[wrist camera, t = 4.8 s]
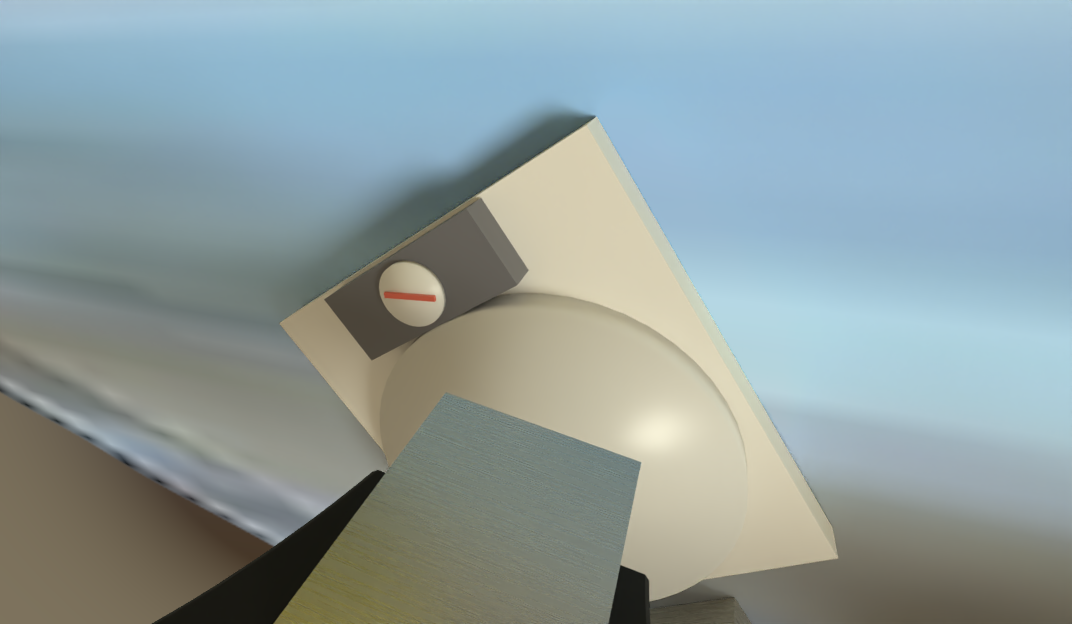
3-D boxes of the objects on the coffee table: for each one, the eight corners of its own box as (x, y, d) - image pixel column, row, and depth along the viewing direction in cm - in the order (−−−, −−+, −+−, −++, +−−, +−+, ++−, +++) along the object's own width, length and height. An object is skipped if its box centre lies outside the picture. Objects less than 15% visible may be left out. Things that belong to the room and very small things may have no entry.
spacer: (641, 462, 11) (579, 766, 6) (591, 586, 13) (520, 876, 8) (445, 392, 11) (272, 624, 7) (429, 521, 13) (288, 760, 9)
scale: (832, 527, 18) (845, 595, 16) (521, 585, 25) (501, 639, 23) (596, 116, 15) (573, 135, 12) (300, 307, 21) (252, 342, 19)
